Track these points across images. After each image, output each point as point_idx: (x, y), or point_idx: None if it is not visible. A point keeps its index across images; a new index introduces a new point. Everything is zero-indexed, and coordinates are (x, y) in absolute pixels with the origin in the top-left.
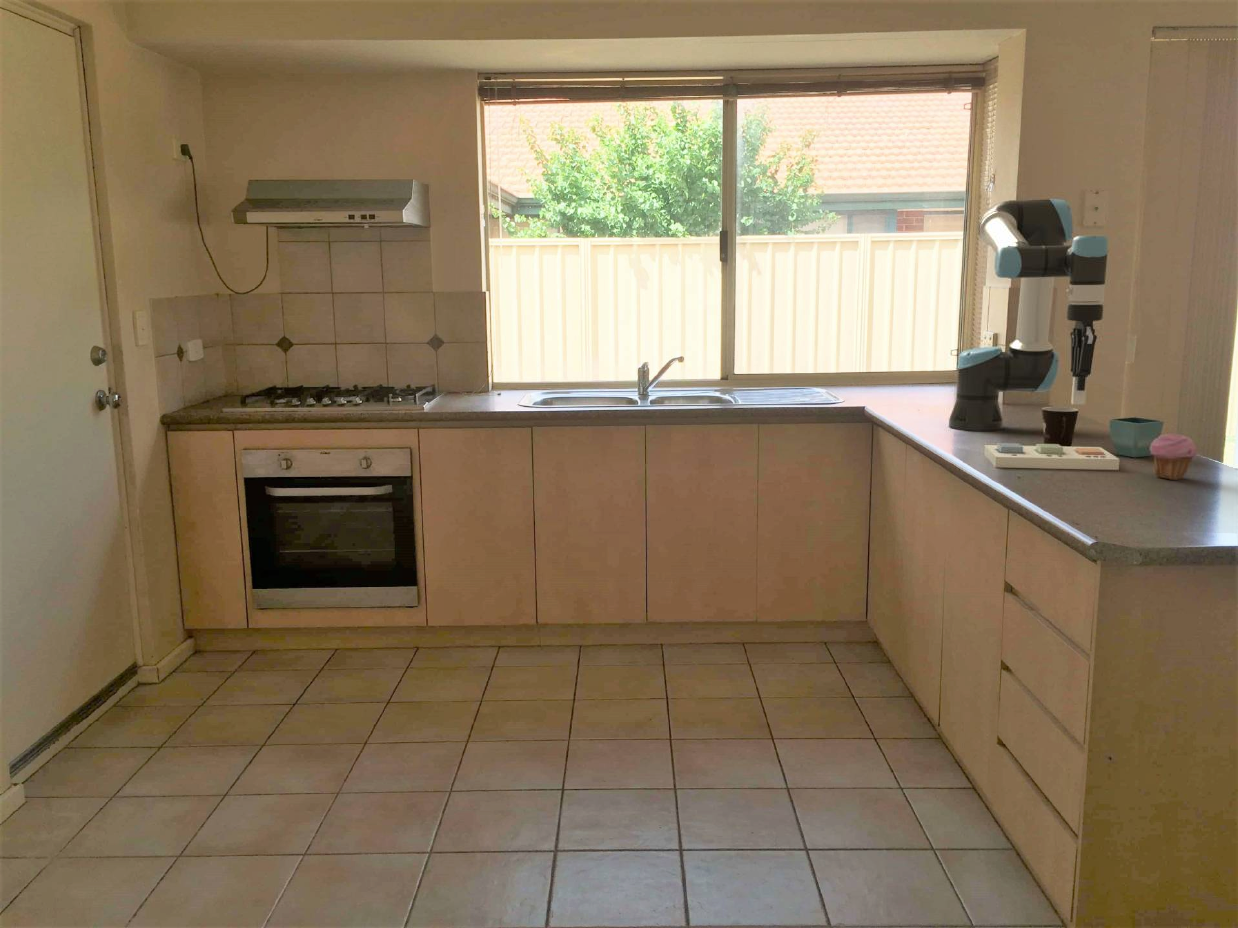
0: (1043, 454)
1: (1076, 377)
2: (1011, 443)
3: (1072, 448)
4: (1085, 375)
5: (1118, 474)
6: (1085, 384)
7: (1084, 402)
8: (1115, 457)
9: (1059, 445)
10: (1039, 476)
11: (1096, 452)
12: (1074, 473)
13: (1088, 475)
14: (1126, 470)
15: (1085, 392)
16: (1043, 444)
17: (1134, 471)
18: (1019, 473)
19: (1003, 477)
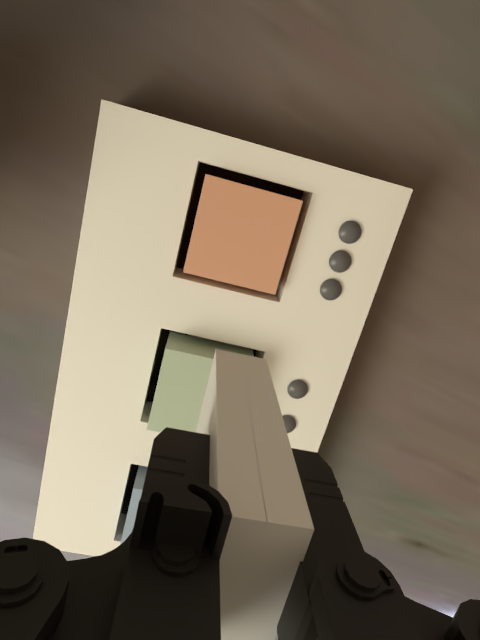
0: None
1: (272, 633)
2: (130, 512)
3: (129, 256)
4: (429, 625)
5: (465, 234)
6: (292, 469)
7: (264, 369)
8: (372, 183)
9: (198, 358)
10: (421, 490)
11: (292, 231)
12: (408, 373)
13: (450, 345)
14: (408, 159)
15: (277, 411)
16: (167, 410)
17: (434, 138)
18: (366, 524)
19: (407, 578)
